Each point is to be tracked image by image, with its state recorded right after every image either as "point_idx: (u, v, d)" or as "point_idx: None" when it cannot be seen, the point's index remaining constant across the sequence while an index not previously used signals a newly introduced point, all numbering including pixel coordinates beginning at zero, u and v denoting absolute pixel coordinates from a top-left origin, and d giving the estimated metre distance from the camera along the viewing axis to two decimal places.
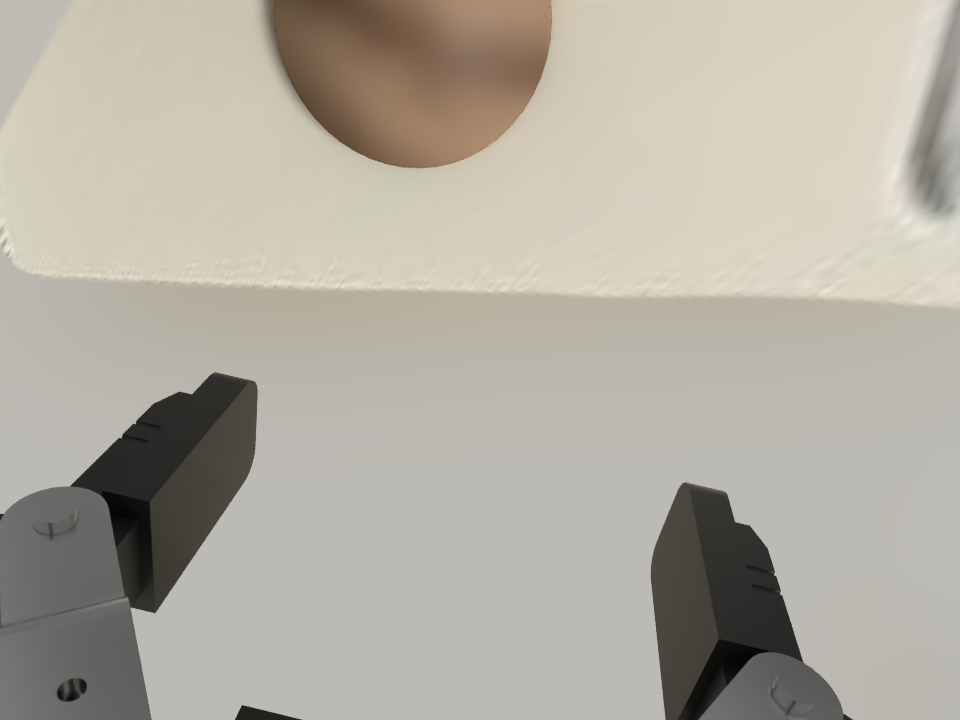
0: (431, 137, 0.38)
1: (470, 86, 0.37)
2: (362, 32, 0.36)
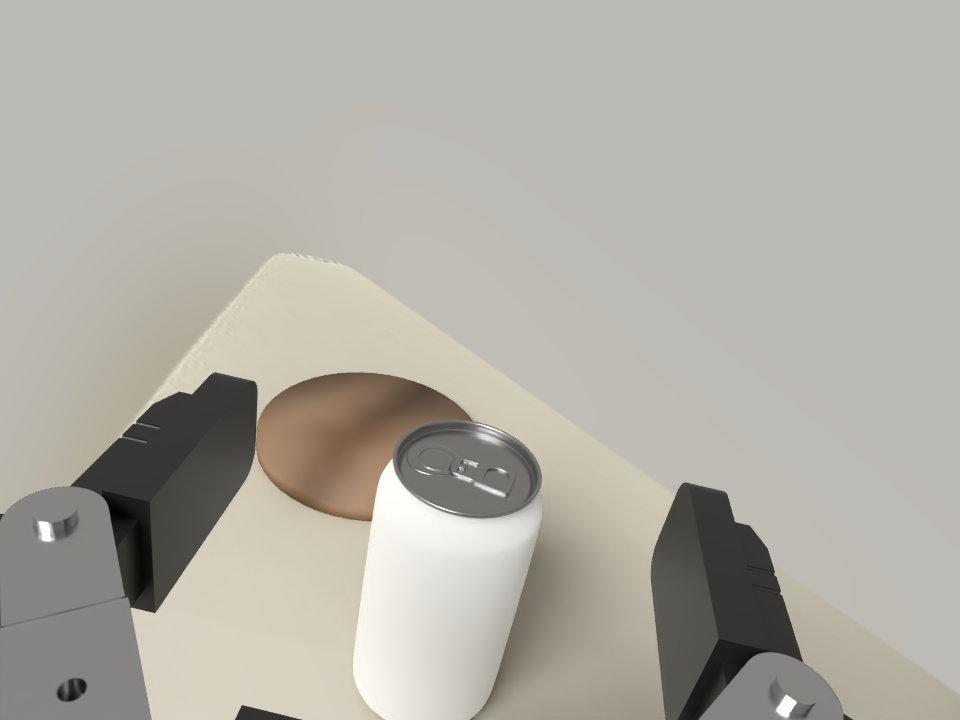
0: (283, 424, 0.45)
1: (315, 452, 0.43)
2: (374, 409, 0.48)
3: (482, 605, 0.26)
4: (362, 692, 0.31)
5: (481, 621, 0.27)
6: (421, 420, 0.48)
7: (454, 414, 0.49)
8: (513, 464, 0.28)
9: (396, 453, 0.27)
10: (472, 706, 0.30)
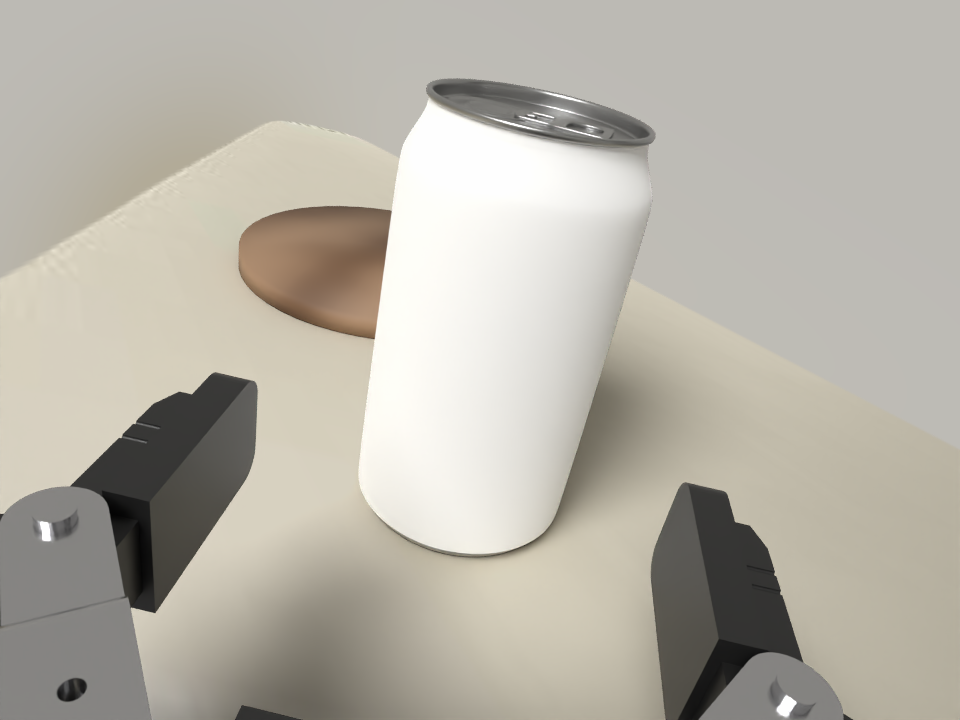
0: (274, 239, 0.35)
1: (312, 265, 0.34)
2: (387, 238, 0.39)
3: (564, 318, 0.17)
4: (372, 500, 0.21)
5: (558, 349, 0.17)
6: None
7: None
8: (606, 128, 0.18)
9: (431, 85, 0.17)
10: (533, 519, 0.21)
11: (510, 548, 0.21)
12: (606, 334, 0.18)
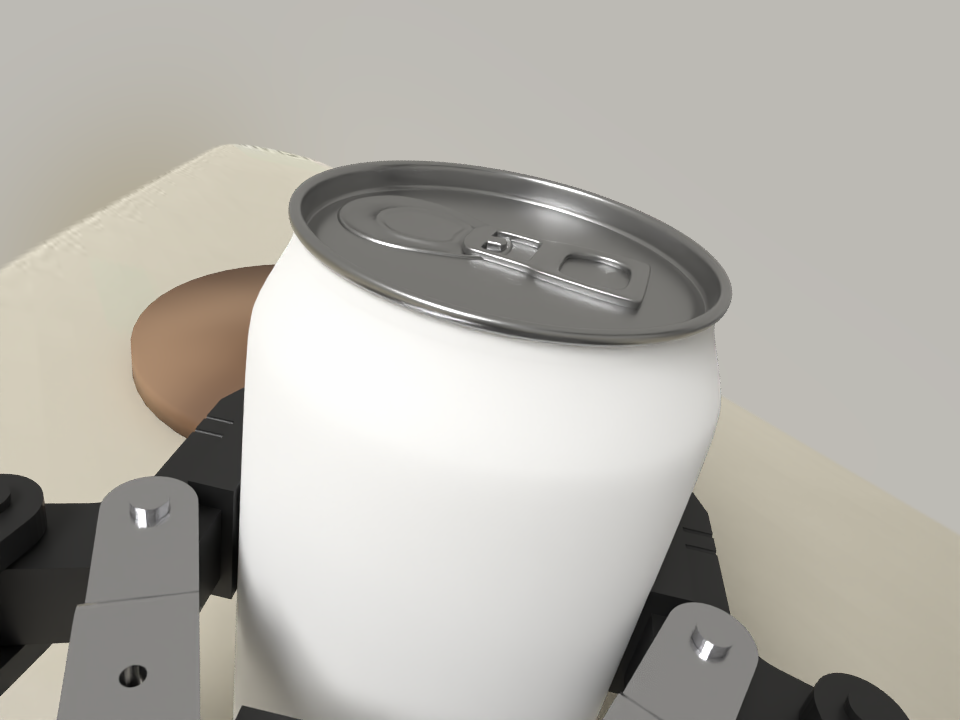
0: (183, 321, 0.27)
1: (227, 361, 0.25)
2: None
3: (555, 646, 0.09)
4: None
5: (545, 689, 0.09)
6: None
7: None
8: (634, 255, 0.10)
9: (305, 190, 0.09)
10: None
11: None
12: (633, 627, 0.10)
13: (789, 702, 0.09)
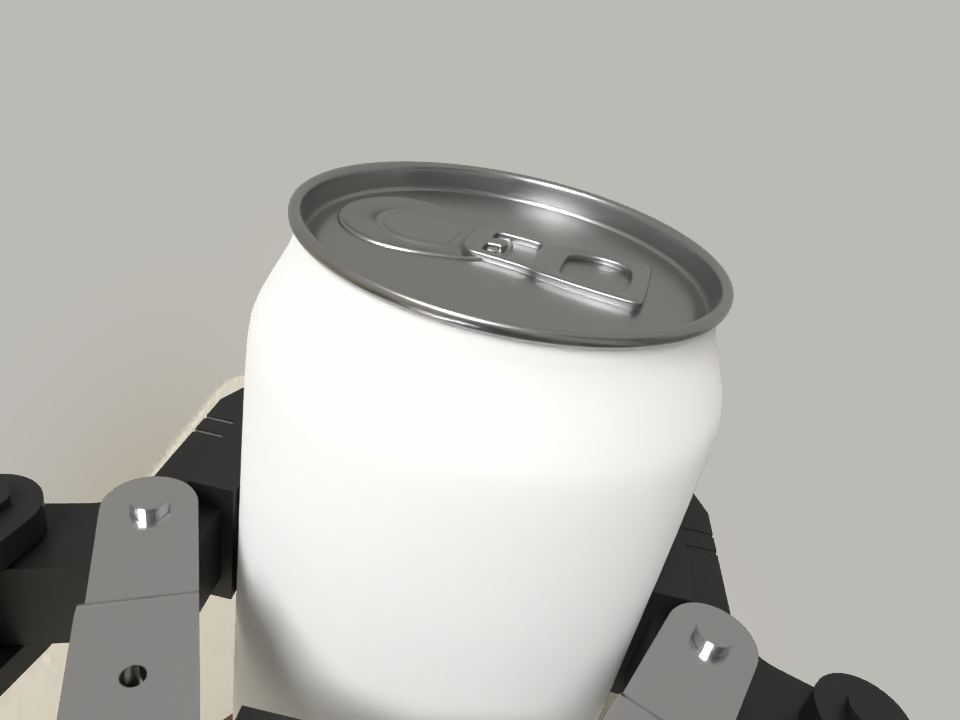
0: None
1: None
2: None
3: (556, 649, 0.09)
4: None
5: (545, 692, 0.09)
6: None
7: None
8: (635, 256, 0.10)
9: (304, 191, 0.09)
10: None
11: None
12: (634, 630, 0.10)
13: (789, 702, 0.09)
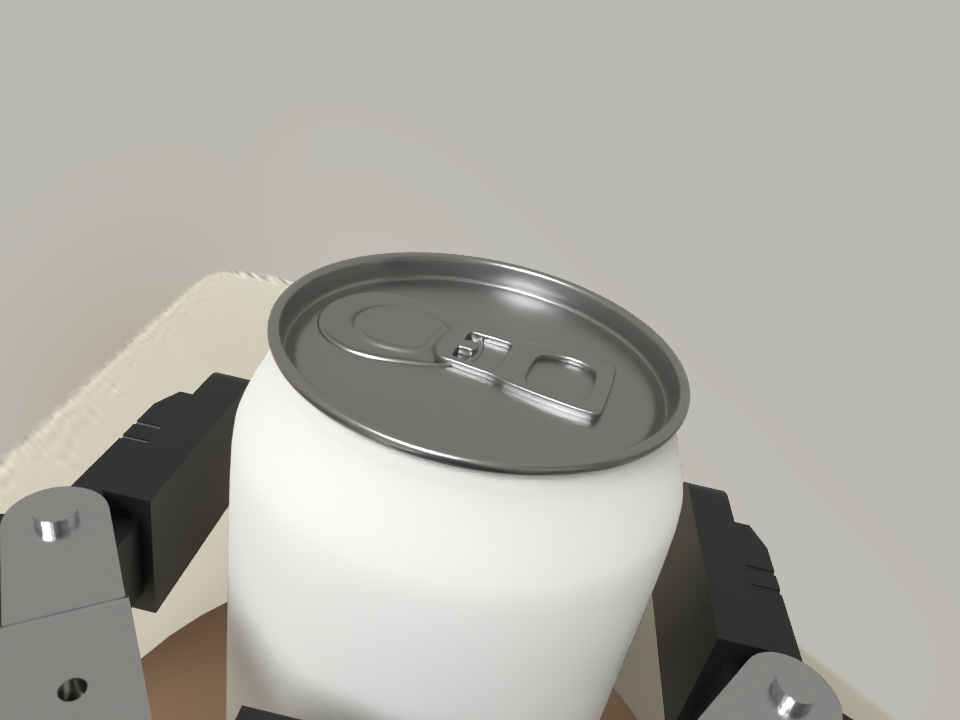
0: None
1: None
2: None
3: None
4: None
5: None
6: None
7: None
8: (604, 352, 0.11)
9: (285, 300, 0.10)
10: None
11: None
12: (601, 709, 0.11)
13: None
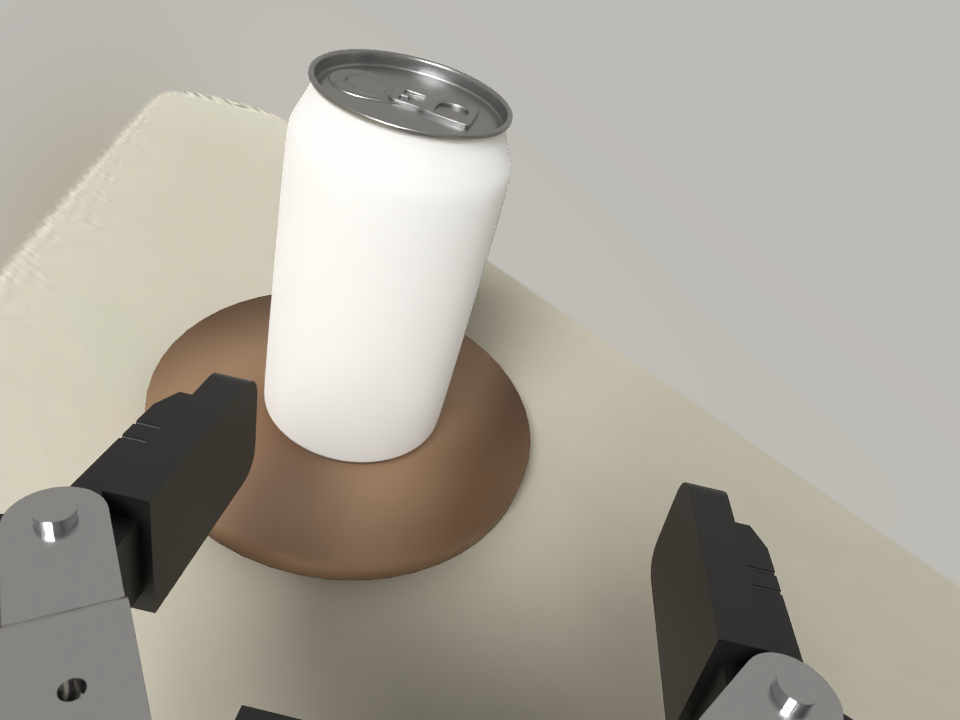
0: None
1: (256, 449, 0.24)
2: None
3: (431, 280, 0.20)
4: (276, 418, 0.25)
5: (427, 304, 0.21)
6: None
7: (475, 361, 0.31)
8: (473, 104, 0.21)
9: (313, 66, 0.19)
10: (413, 433, 0.25)
11: (394, 456, 0.25)
12: (471, 287, 0.22)
13: None
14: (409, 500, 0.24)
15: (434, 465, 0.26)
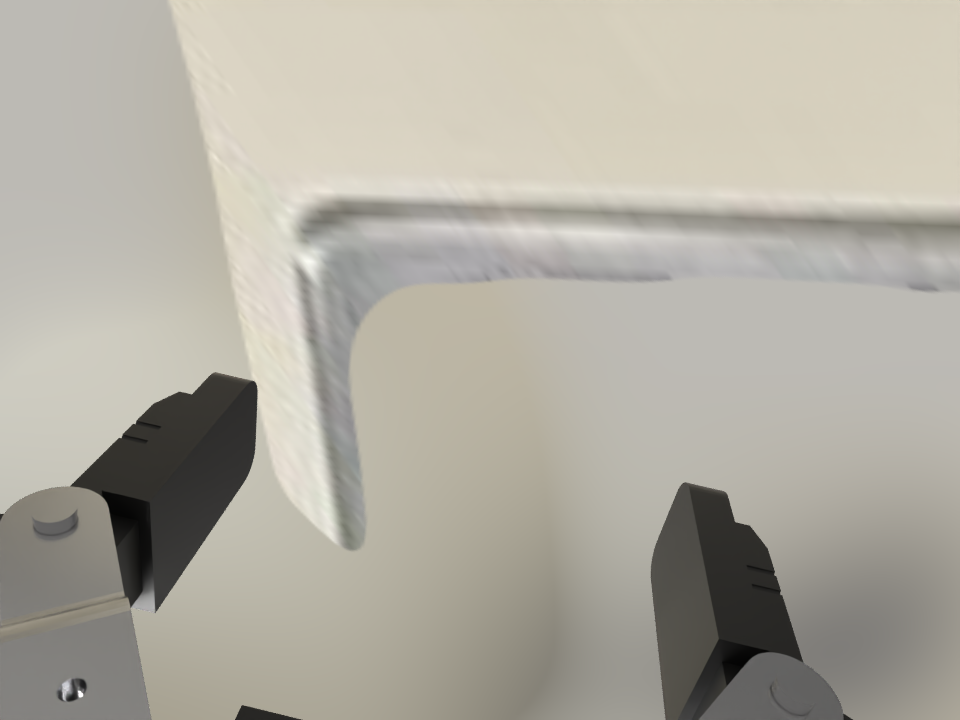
0: None
1: None
2: None
3: None
4: None
5: None
6: None
7: None
8: None
9: None
10: None
11: None
12: None
13: None
14: None
15: None
